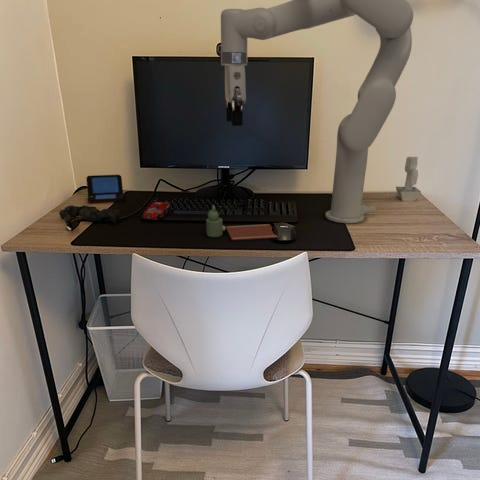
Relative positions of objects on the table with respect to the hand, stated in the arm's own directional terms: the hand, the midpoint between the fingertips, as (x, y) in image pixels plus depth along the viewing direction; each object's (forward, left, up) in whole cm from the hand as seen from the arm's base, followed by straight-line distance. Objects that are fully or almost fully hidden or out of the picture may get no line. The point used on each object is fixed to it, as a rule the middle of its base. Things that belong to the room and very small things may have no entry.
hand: (234, 123), depth 148 cm
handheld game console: (+43, -26, -28) cm, 58 cm away
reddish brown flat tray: (-2, +19, -28) cm, 34 cm away
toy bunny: (+9, +19, -28) cm, 35 cm away
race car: (+25, -2, -28) cm, 38 cm away
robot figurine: (+47, -1, -28) cm, 55 cm away
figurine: (-66, -8, -28) cm, 72 cm away
